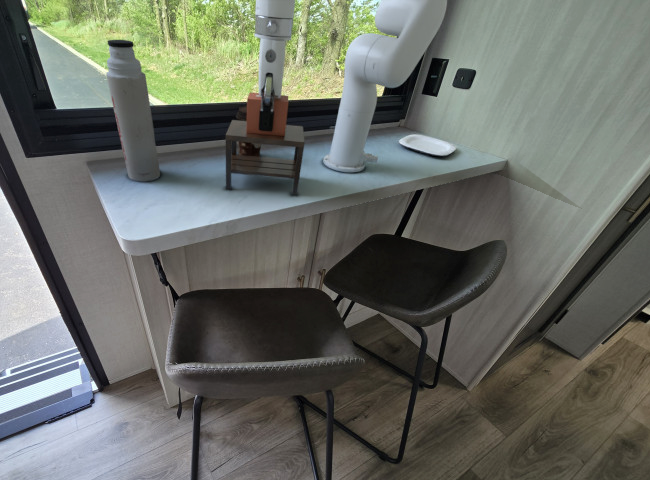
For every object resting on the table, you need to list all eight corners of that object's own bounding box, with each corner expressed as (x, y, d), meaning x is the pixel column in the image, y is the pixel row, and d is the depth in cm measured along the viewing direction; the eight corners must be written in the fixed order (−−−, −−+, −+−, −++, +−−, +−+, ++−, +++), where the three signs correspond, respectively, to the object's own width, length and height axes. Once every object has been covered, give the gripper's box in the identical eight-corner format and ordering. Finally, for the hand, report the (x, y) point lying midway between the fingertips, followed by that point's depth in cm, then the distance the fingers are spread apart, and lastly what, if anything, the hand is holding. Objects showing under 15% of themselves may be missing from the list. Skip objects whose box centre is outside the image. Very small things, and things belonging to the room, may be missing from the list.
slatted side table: (295, 176, 91) (302, 126, 82) (296, 195, 82) (304, 142, 73) (232, 170, 91) (232, 119, 82) (226, 189, 82) (225, 134, 73)
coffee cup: (265, 152, 102) (268, 107, 94) (262, 162, 96) (265, 114, 87) (237, 150, 103) (238, 103, 94) (233, 159, 97) (233, 111, 88)
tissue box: (248, 124, 80) (249, 91, 75) (284, 128, 80) (288, 95, 75) (246, 132, 75) (247, 98, 70) (284, 136, 75) (288, 101, 70)
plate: (459, 150, 118) (461, 145, 117) (442, 162, 107) (444, 157, 106) (412, 136, 126) (413, 132, 125) (392, 146, 116) (393, 141, 114)
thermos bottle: (125, 181, 81) (93, 41, 62) (131, 168, 87) (104, 36, 68) (157, 182, 82) (136, 44, 63) (162, 169, 88) (143, 39, 69)
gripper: (292, 34, 58) (281, 139, 70) (291, 27, 71) (282, 117, 83) (251, 30, 58) (247, 136, 70) (257, 24, 71) (253, 115, 83)
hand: (266, 125), depth 77 cm, fingers closed on tissue box, 6 cm apart
